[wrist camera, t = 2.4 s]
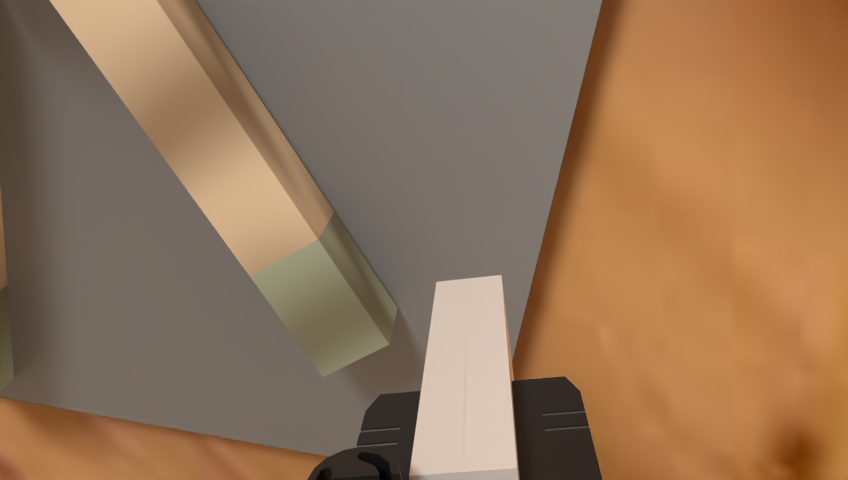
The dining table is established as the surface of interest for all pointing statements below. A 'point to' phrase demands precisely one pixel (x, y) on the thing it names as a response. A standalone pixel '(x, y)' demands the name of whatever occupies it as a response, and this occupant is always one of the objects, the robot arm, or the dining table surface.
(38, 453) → the dining table surface
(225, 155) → the bar
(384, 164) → the board
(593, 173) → the dining table surface
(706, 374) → the dining table surface
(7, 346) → the tongs base
